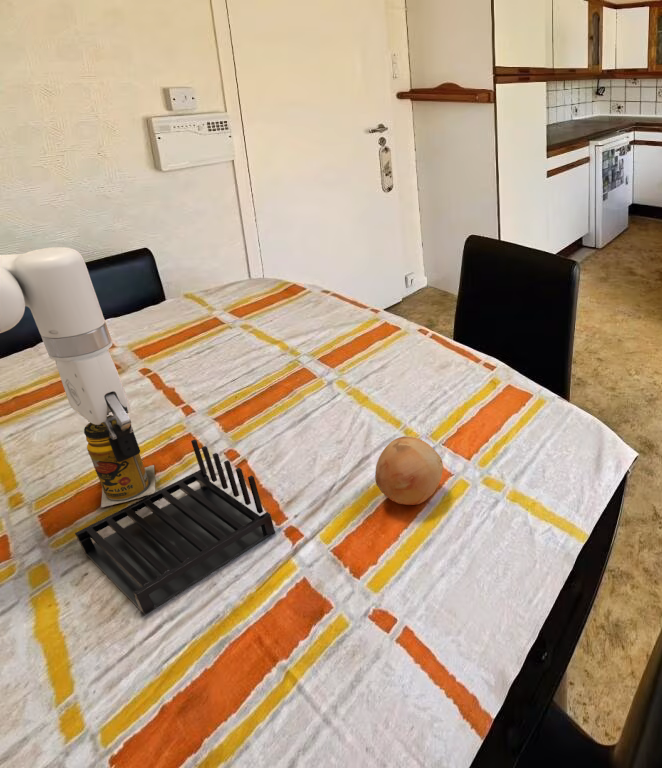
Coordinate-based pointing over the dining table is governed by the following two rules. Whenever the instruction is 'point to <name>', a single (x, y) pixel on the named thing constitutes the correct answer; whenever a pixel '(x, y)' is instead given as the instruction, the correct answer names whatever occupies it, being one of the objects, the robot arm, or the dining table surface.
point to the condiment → (117, 469)
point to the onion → (408, 471)
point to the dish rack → (178, 535)
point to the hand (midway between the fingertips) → (118, 448)
